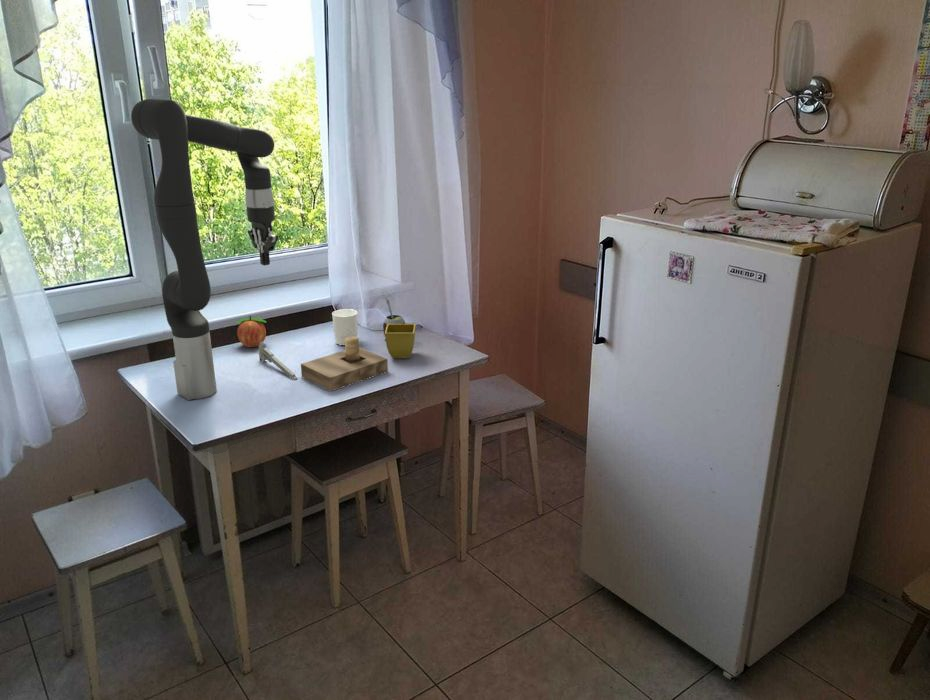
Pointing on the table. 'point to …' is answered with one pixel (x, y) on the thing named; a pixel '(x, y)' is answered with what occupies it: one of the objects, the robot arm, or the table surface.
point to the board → (343, 369)
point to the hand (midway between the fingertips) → (265, 264)
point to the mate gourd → (392, 318)
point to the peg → (352, 349)
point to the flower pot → (400, 339)
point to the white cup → (344, 324)
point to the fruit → (251, 331)
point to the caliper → (273, 360)
